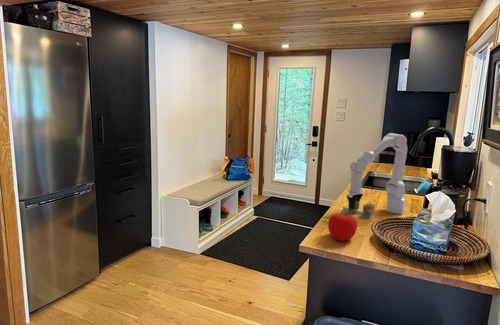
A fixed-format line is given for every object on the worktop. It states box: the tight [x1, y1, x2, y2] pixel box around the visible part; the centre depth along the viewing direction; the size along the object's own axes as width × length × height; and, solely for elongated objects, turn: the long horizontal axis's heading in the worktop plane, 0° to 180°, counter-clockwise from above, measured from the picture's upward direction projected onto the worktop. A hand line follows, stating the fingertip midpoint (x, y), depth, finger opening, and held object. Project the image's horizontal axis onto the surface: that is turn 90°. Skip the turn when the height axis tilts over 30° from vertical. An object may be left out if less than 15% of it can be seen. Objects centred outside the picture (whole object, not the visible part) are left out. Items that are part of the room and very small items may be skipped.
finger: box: [362, 202, 375, 219], centre depth 177 cm, size 4×5×6 cm
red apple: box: [327, 212, 358, 242], centre depth 147 cm, size 12×14×11 cm
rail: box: [340, 204, 376, 220], centre depth 180 cm, size 16×7×3 cm, turn 52°
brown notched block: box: [347, 201, 360, 215], centre depth 181 cm, size 4×5×6 cm
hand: (353, 207), depth 181 cm, fingers open, 5 cm apart
